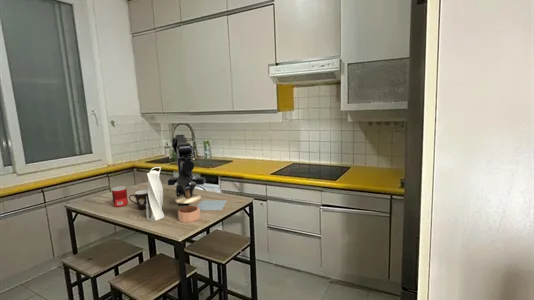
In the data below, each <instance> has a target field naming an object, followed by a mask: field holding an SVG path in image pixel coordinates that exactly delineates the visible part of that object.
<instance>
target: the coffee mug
mask: <svg viewBox="0 0 534 300" xmlns="http://www.w3.org/2000/svg"><path fill="white" fill-rule="evenodd" d="M131 197H134V199H135V201H134V200H132V199H131ZM146 197H147V199H146ZM128 200H129V201H130V202H131V203H132V204H133V203H134V204H135V205H137V209H138V210H139V211H147V209H146V204H147V203H146V200H148V204H149V209H151V206H150V202H149V197H148V189H141V190H137V191H135V192H134V194H130V195H129V196H128Z"/></svg>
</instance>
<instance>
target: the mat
mask: <svg viewBox="0 0 534 300" xmlns="http://www.w3.org/2000/svg"><path fill="white" fill-rule="evenodd" d="M227 202H228V200H225V199H224V200H222V199H221V200H219V199H218V200H217V199H215V200H211V199H210V200H207V199H206V200H200V202H199V203H198V204H197V207H199V208H200V211H222V210H223V208H224V206H225V205H226V203H227Z"/></svg>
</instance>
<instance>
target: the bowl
mask: <svg viewBox="0 0 534 300" xmlns="http://www.w3.org/2000/svg"><path fill="white" fill-rule="evenodd" d="M197 206H198V205H197ZM197 206H196V205H188V206H182V207H180V208H179V209H178V210H177V218H178V222H180V223H185V224H187V223H189V224H190V223H193V222H196V221H198V220H199V219H200V218H201V210H200V208H199V207H197Z"/></svg>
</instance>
